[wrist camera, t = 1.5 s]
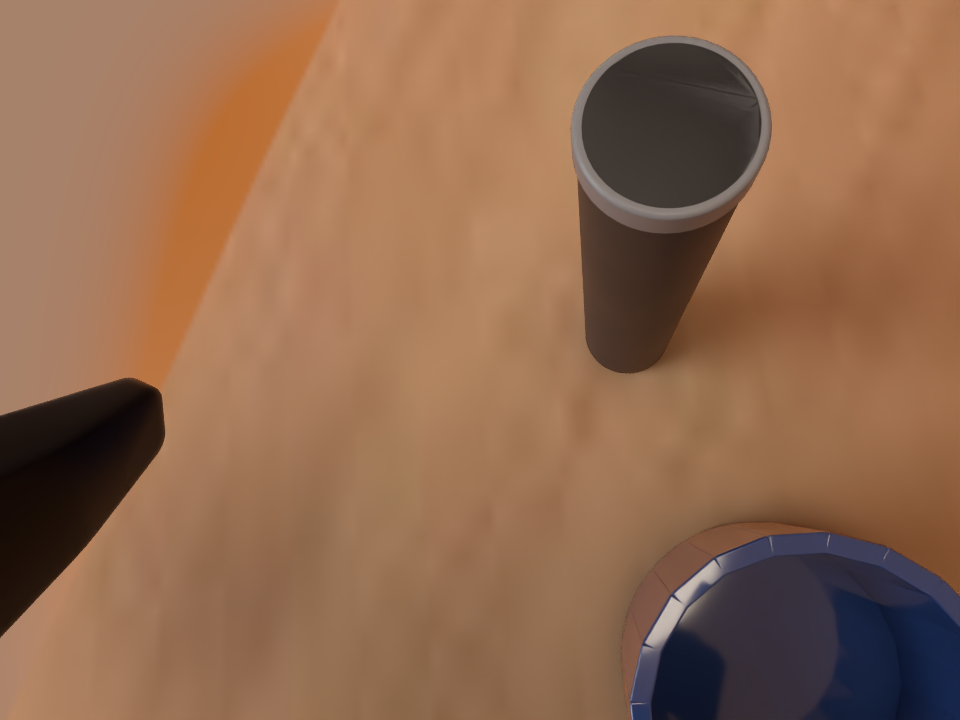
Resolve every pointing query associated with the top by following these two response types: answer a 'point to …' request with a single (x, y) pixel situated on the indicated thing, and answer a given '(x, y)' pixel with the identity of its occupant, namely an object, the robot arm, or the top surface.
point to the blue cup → (790, 631)
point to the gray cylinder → (659, 184)
